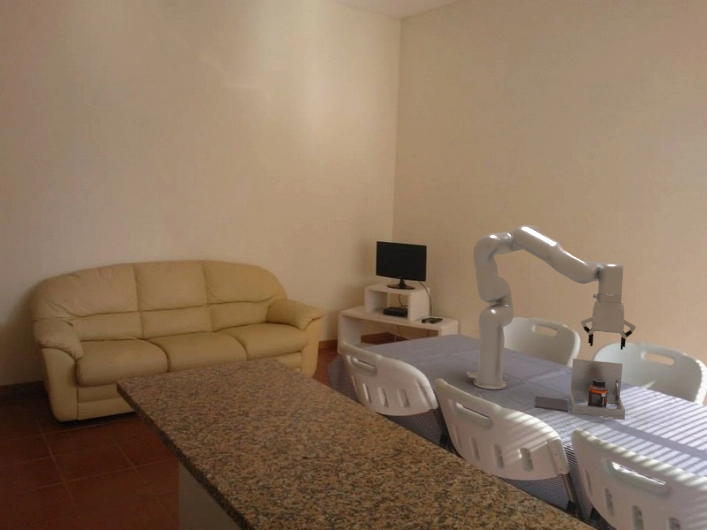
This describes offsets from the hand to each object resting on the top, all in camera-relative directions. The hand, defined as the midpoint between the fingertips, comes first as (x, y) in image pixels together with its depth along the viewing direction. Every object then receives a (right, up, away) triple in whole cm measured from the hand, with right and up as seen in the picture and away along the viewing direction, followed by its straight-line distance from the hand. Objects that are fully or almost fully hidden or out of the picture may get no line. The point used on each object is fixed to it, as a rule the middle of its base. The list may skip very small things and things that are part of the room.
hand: (606, 347), depth 197 cm
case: (-2, -22, +3) cm, 22 cm away
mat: (-17, -21, +6) cm, 28 cm away
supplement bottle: (-3, -23, 0) cm, 23 cm away
